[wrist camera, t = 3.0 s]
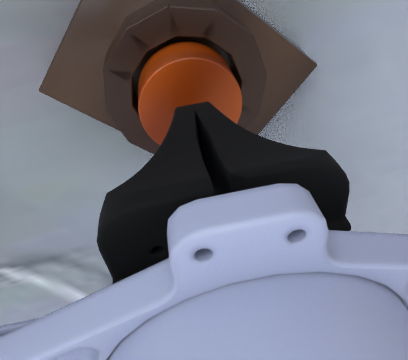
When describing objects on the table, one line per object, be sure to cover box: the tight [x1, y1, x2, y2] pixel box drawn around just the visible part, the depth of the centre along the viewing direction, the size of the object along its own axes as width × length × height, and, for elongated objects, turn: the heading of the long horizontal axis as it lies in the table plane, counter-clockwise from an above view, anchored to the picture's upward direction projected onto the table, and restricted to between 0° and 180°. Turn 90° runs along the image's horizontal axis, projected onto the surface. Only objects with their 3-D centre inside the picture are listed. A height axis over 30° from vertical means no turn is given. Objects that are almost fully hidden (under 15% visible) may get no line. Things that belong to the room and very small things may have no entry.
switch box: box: [39, 0, 317, 154], centre depth 18 cm, size 11×8×4 cm
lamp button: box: [138, 42, 242, 145], centre depth 16 cm, size 4×4×2 cm
